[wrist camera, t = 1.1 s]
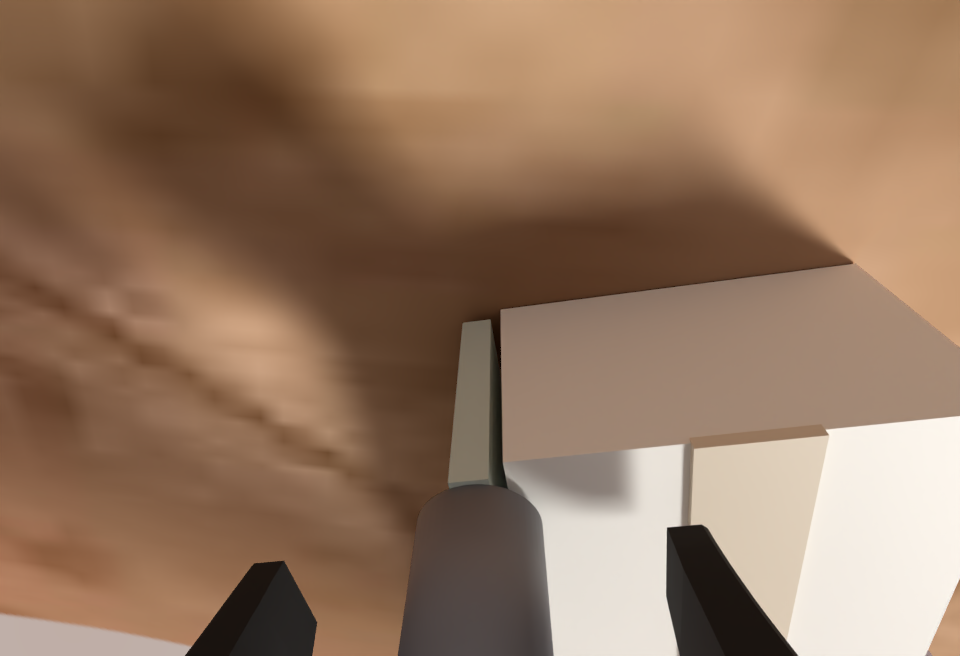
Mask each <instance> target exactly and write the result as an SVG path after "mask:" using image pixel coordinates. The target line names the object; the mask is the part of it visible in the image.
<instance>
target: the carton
mask: <svg viewBox="0 0 960 656" xmlns="http://www.w3.org/2000/svg"><path fill="white" fill-rule="evenodd" d="M501 375H502V441H503V466H504V471H505V476H506V481H507V486H508V489H509V490H511V491H514V492H516V493H518V494H520V495H521V496H523V497H525V498H526V499H527V500H528V501H530V502H531V503H532V504H533V505H534V506H535V508H536V509H537V511H538V512H539V514H540V516H541V519H542V524H543V536H544V547H545V559H546V571H547V583H548V594H549V606H550V618H551V629H552V641H553V653H554V656H680V654H679V650H678V646H677V642H676V638H675V633H674V629H673V625H672V620H671V616H670V611H669V607H668V603H667V598H666V557H667V527H678V526H689V525H701V524H702V525H704V526H705V527H707V528H708V529H709V531H710V533H711V534H712V536H713V538H714V539H715V541H716V543H717V544H718V546H719V547H720V549H721V550H722V552H723V554H724V555H725V557H726V558H727V560H728V561H729V563H730V564H731V566H732V567H733V569H734V570H735V571H736V573H737V574H738V576H739V577H740V579H741V580H742V582H743V583H744V584H745V586H746V587H747V589H748V590H749V591H750V593H751V594H752V596H753V597H754V598H755V600H756V601H757V603H758V604H759V605H760V607H761V608H762V609H763V611H764V612H765V613H766V615H767V616H768V617H769V619H770V620H771V621H772V623H773V624H774V625H775V626H776V628H777V629H778V630H779V632H780V633H781V634H782V635H783V637H784V638H785V639H786V641H787V642H788V643H789V644H790V646H791V647H792V648H793V650H794V651H795V652H796V653H797V655H798V656H925V655H926V653H927V651H928V649H929V646H930V644H931V642H932V640H933V637H934V635H935V633H936V630H937V628H938V626H939V624H940V621H941V619H942V617H943V615H944V612H945V610H946V608H947V606H948V603H949V601H950V599H951V597H952V594H953V592H954V590H955V588H956V585H957V583H958V581H959V579H960V348H959V347H958V346H957V345H956V344H955V343H953V342H952V341H951V340H950V339H948V338H947V337H946V336H945V335H943V334H942V333H941V332H940V331H938V330H937V329H936V328H935V327H933V326H932V325H931V324H930V323H929V322H927V321H926V320H925V319H924V318H922V317H921V316H920V315H919V314H917V313H916V312H915V311H914V310H912V309H911V308H910V307H909V306H908V305H906V304H905V303H904V302H903V301H901V300H900V299H899V298H898V297H896V296H895V295H894V294H893V293H891V292H890V291H889V290H888V289H886V288H885V287H884V286H883V285H882V284H880V283H879V282H878V281H877V280H875V279H874V278H873V277H872V276H870V275H869V274H868V273H867V272H865V271H864V270H863V269H862V268H860V267H859V266H858V265H857V264H848V265H841V266H833V267H825V268H817V269H810V270H802V271H794V272H787V273H779V274H771V275H763V276H756V277H748V278H740V279H733V280H725V281H717V282H709V283H702V284H694V285H686V286H679V287H671V288H663V289H655V290H648V291H640V292H632V293H624V294H617V295H609V296H601V297H594V298H586V299H578V300H570V301H563V302H555V303H547V304H540V305H532V306H524V307H516V308H509V309H501Z"/></svg>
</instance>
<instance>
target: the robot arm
mask: <svg viewBox="0 0 960 656" xmlns="http://www.w3.org/2000/svg"><path fill="white" fill-rule="evenodd" d="M666 598H667V603H668V607H669V611H670V616H671V620H672V625H673V629H674V633H675V638H676V642H677V646H678V650H679V654H680V656H798V655H797V653H796V652H795V651H794V650H793V648H792V647H791V646H790V644H789V643H788V642H787V641H786V639H785V638H784V637H783V635H782V634H781V633H780V632H779V630H778V629H777V628H776V626H775V625H774V624H773V623H772V621H771V620H770V619H769V617H768V616H767V615H766V613H765V612H764V611H763V609H762V608H761V607H760V605H759V604H758V603H757V601H756V600H755V598H754V597H753V596H752V594H751V593H750V591H749V590H748V589H747V587H746V586H745V584H744V583H743V582H742V580H741V579H740V577H739V576H738V574H737V573H736V571H735V570H734V569H733V567H732V566H731V564H730V563H729V561H728V560H727V558H726V557H725V555H724V554H723V552H722V550H721V549H720V547H719V546H718V544H717V543H716V541H715V539H714V538H713V536H712V534H711V533H710V531H709V529H708V528H707V527H705V526H704V525H702V524H701V525H689V526H678V527H667V557H666ZM316 626H317V621H316V619H315V618H314V616H313V614H312V612H311V610H310V608H309V606H308V605H307V603H306V601H305V599H304V597H303V595H302V593H301V592H300V590H299V588H298V586H297V584H296V582H295V580H294V579H293V577H292V575H291V573H290V571H289V569H288V567H287V565H286V564H285V562H284V561H277V562H265V563H254V564H253V566H252V567H251V568H250V569H249V571H248V572H247V573H246V575H245V576H244V577H243V579H242V580H241V581H240V583H239V584H238V585H237V587H236V588H235V589H234V591H233V592H232V593H231V595H230V596H229V597H228V599H227V600H226V602H225V603H224V604H223V606H222V607H221V608H220V610H219V611H218V612H217V614H216V615H215V616H214V618H213V619H212V620H211V622H210V623H209V624H208V626H207V627H206V629H205V630H204V631H203V633H202V634H201V635H200V637H199V638H198V639H197V641H196V642H195V643H194V645H193V646H192V647H191V649H190V650H189V651H188V652H187V654H186V655H185V656H312V653H313V646H314V640H315V633H316ZM925 656H932V654H931V653H930V652H929V651H927V653H926V655H925Z"/></svg>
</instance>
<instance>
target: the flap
mask: <svg viewBox="0 0 960 656" xmlns="http://www.w3.org/2000/svg"><path fill="white" fill-rule="evenodd" d="M448 486H449V489H448V490H445V491H443V492H441V493H439V494H437V495H436V496H434V497H433V498H431V499H430V500H429V501H428V502H427V503H426V504H425V505H424V506H423V508H422V509H421V511H420V513H419V516H418V519H417V525H416V532H415V539H414V546H413V553H412V560H411V567H410V574H409V581H408V588H407V595H406V602H405V609H404V616H403V623H402V630H401V637H400V644H399V651H398V656H554V653H553V641H552V629H551V618H550V606H549V594H548V583H547V571H546V559H545V547H544V536H543V524H542V519H541V516H540V514H539V512H538V511H537V509H536V508H535V506H534V505H533V504H532V503H531V502H530V501H528V500H527V499H526V498H525V497H523V496H521V495H520V494H518V493H516V492H514V491H511V490H509V489H508V486H507V481H506V476H505V471H504V466H503V441H502V381H501V375H500V369H499V364H498V358H497V353H496V347H495V341H494V336H493V330H492V325H491V319H489V320H481V321H473V322H465V323H463V325H462V335H461V346H460V357H459V368H458V378H457V389H456V400H455V410H454V421H453V432H452V443H451V453H450V464H449V475H448Z"/></svg>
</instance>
